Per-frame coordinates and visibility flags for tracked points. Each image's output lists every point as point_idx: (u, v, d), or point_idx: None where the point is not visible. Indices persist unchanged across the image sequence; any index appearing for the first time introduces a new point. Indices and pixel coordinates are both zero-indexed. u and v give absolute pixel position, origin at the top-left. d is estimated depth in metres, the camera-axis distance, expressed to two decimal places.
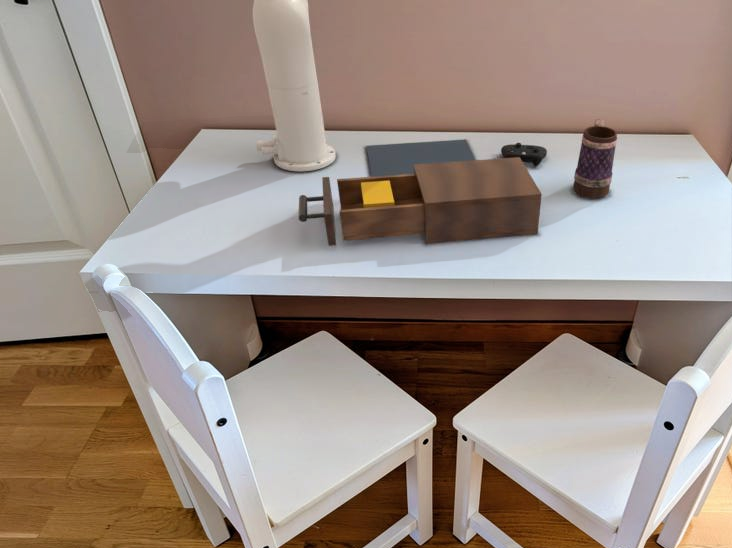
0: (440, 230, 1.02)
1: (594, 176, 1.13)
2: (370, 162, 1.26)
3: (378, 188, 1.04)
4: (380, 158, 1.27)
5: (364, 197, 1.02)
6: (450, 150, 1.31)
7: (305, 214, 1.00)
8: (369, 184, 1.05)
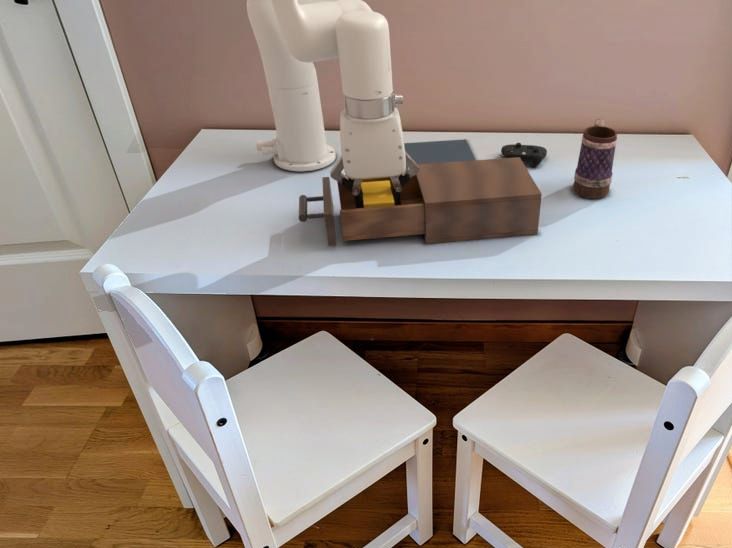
0: (440, 230, 1.02)
1: (594, 176, 1.13)
2: None
3: (378, 188, 1.04)
4: None
5: (364, 197, 1.02)
6: (450, 150, 1.31)
7: (305, 214, 1.00)
8: (369, 184, 1.05)
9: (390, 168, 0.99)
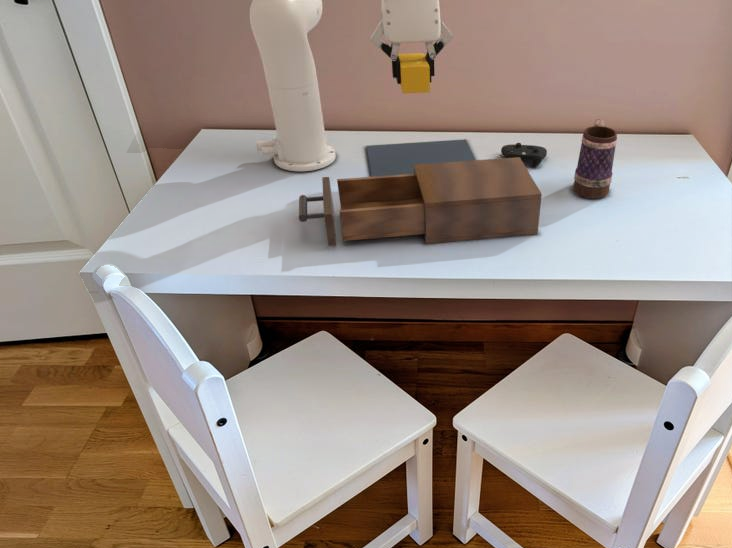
0: (440, 230, 1.02)
1: (594, 176, 1.13)
2: (370, 162, 1.26)
3: (414, 58, 1.12)
4: (380, 158, 1.27)
5: (401, 63, 1.10)
6: (450, 150, 1.31)
7: (305, 214, 1.00)
8: (405, 55, 1.14)
9: (426, 32, 1.07)
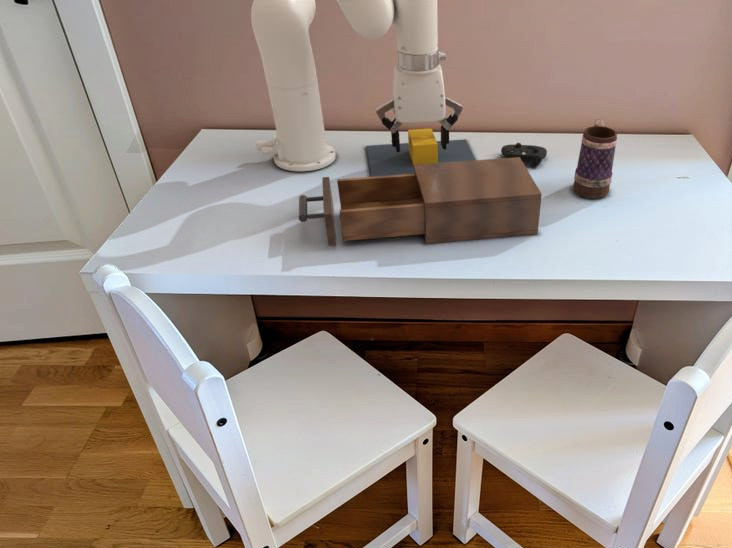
0: (440, 230, 1.02)
1: (594, 176, 1.13)
2: (370, 162, 1.26)
3: (423, 134, 1.26)
4: (380, 158, 1.27)
5: (412, 140, 1.23)
6: (450, 150, 1.31)
7: (305, 214, 1.00)
8: (415, 131, 1.27)
9: (433, 114, 1.20)
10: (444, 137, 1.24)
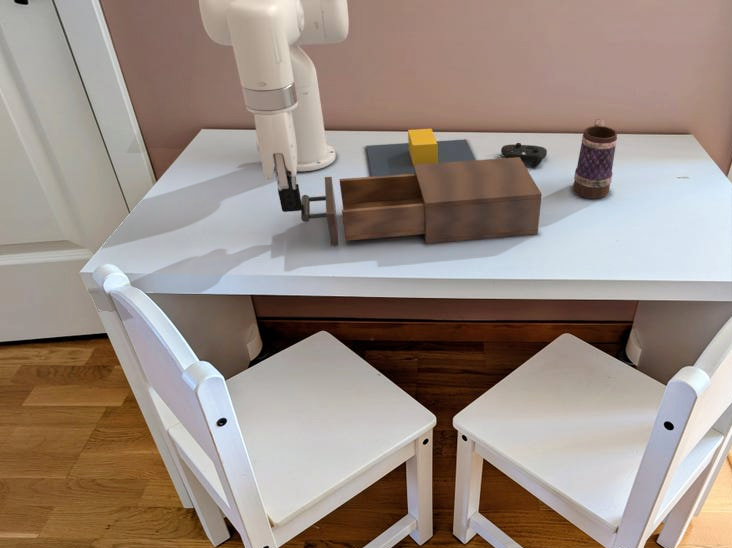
0: (440, 230, 1.02)
1: (594, 176, 1.13)
2: (370, 162, 1.26)
3: (423, 134, 1.26)
4: (380, 158, 1.27)
5: (412, 140, 1.23)
6: (450, 150, 1.31)
7: (307, 214, 1.00)
8: (415, 131, 1.27)
9: None
10: (299, 192, 1.01)
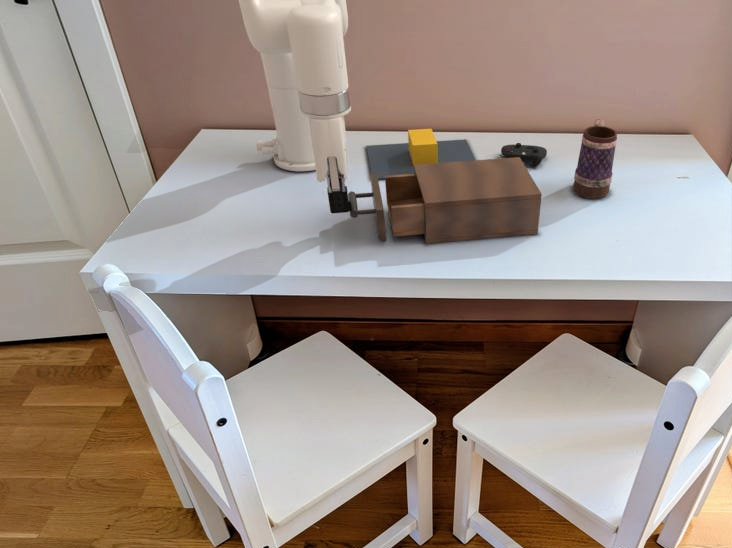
0: (440, 230, 1.02)
1: (594, 176, 1.13)
2: (370, 162, 1.26)
3: (423, 134, 1.26)
4: (380, 158, 1.27)
5: (412, 140, 1.23)
6: (450, 150, 1.31)
7: (356, 210, 1.01)
8: (415, 131, 1.27)
9: None
10: None
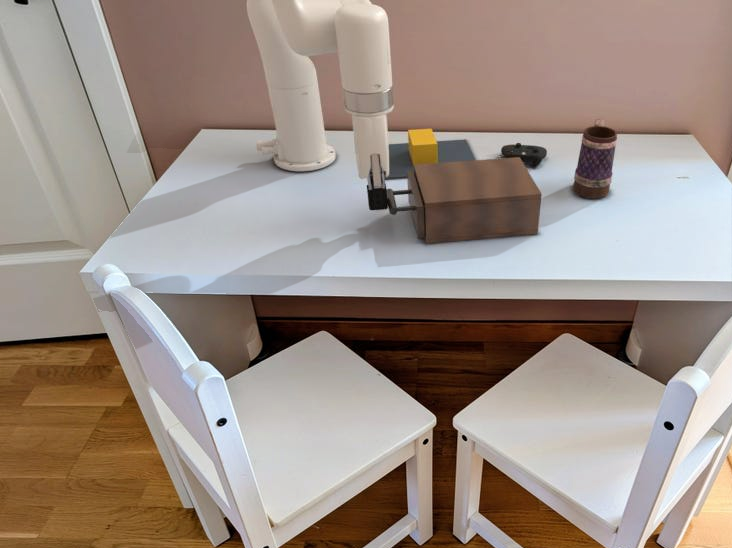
0: (440, 230, 1.02)
1: (594, 176, 1.13)
2: None
3: (423, 134, 1.26)
4: None
5: (412, 140, 1.23)
6: (450, 150, 1.31)
7: (395, 207, 1.02)
8: (415, 131, 1.27)
9: None
10: None
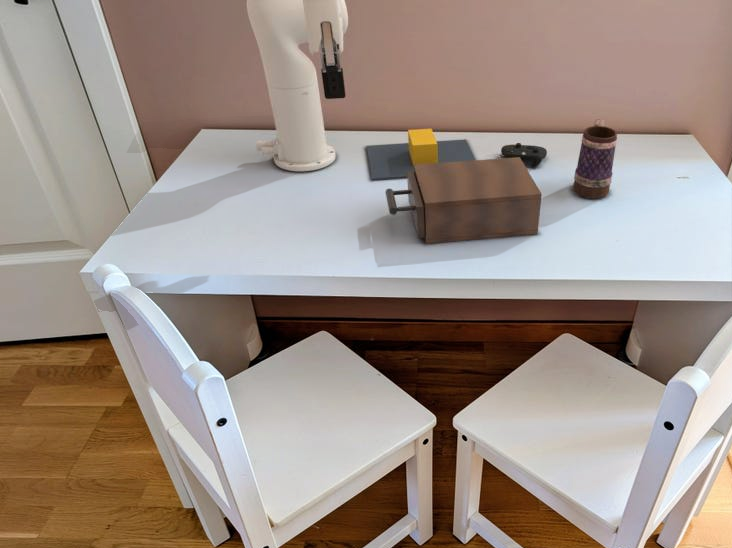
0: (440, 230, 1.02)
1: (594, 176, 1.13)
2: (370, 162, 1.26)
3: (423, 134, 1.26)
4: (380, 158, 1.27)
5: (412, 140, 1.23)
6: (450, 150, 1.31)
7: (395, 207, 1.02)
8: (415, 131, 1.27)
9: None
10: None
